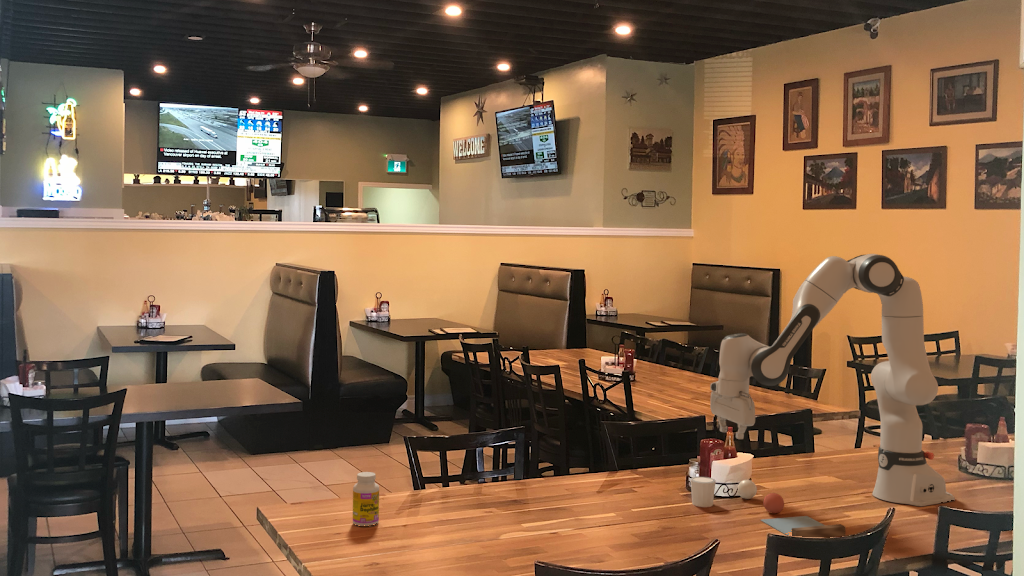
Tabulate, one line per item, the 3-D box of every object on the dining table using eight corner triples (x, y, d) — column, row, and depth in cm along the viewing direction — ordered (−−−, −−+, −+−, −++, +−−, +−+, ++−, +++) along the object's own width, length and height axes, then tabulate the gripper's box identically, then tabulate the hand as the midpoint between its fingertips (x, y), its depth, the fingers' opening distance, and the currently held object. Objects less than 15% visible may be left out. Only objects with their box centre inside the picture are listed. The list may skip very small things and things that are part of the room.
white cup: (715, 508, 250) (715, 483, 250) (689, 506, 251) (690, 481, 251) (714, 501, 257) (715, 477, 256) (690, 499, 258) (690, 475, 258)
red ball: (776, 509, 250) (777, 490, 250) (787, 515, 245) (788, 495, 244) (759, 510, 248) (759, 491, 248) (770, 516, 243) (770, 496, 243)
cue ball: (750, 495, 263) (750, 477, 263) (760, 500, 258) (760, 481, 258) (733, 496, 262) (734, 478, 262) (743, 501, 257) (743, 483, 256)
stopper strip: (840, 533, 230) (840, 524, 230) (845, 536, 228) (845, 526, 228) (791, 538, 226) (791, 528, 226) (795, 540, 224) (796, 530, 224)
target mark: (806, 516, 244) (806, 515, 244) (838, 533, 230) (838, 532, 230) (760, 520, 240) (760, 519, 240) (790, 537, 226) (790, 536, 226)
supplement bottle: (357, 529, 229) (357, 478, 228) (349, 521, 235) (349, 472, 234) (382, 525, 232) (382, 475, 231) (374, 518, 238) (374, 469, 237)
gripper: (761, 394, 258) (759, 442, 259) (726, 383, 278) (724, 427, 278) (742, 394, 256) (739, 443, 257) (707, 383, 276) (705, 428, 277)
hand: (731, 435), depth 268 cm, fingers open, 8 cm apart
